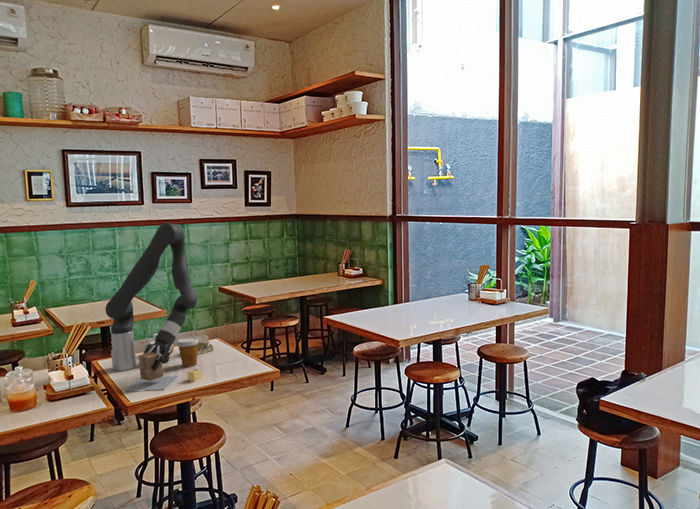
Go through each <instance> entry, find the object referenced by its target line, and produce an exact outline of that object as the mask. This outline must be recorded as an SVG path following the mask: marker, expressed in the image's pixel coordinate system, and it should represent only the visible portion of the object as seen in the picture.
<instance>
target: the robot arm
mask: <svg viewBox="0 0 700 509" xmlns="http://www.w3.org/2000/svg"><path fill="white" fill-rule="evenodd" d="M184 233H185V232H184V230H183V227H182V226H181V225H179V224H176V223H171V222H164V223H162V224H161V225H159V227H158V228H157V230H156V231H155V234H154V235H153V237H152V238H151V240H150V242H149V244H148V246H147V248H146V249H145V250H144V252H143V253H142V254H141V256H140V258H139V259H138V260H137V261H136V263H135V264H134V266H133V267H132V268H131V271H130V272H129V273H128V275H127V276H126V278H125V280H124V281H123V283H122V285H121V286H120V287H119V289H118V290H117V292H115V294H114V295H113V296H112V298H110V299H109V301H108V302H107V304H106V305H105V313H106V316H107V317H108V318H110V319H113V322H112V325H111V326H110V334H111V344H112V349H111V351H110V354H111V363H112V364H111V365H112V370H113V371H117V372H123V371H130V370H132V369H135V368H136V367H137V359H136V358H137V357H136V349H135V341H134V340H135V339H134V329H133V327H134V324H135V323H134V322H135V320H134V305H133V302H132V301H133V300H134V298H135V297H136V296H137V294H139V293H140V292H141V291H142V290H144V288H145V287H146V286H147V285H148V284H149V283H150V281H151V280H152V278H153V277H154V276H155V274H156V272H157V271H158V269H159V265H160V260H161V256H162V254H163V253H164V252H165V251H166V249H167V248H168V246H170V249H171V254H172V255H171V256H172V263H171V276H172V280H173V284H174V288H175V289H176V290H178V291H179V293H180V295H179V296H178V297H177V298H176V299H175V301H174V303H173V305H172V306H173V307H172V309H171V312H170V313H169V315H168V317H167V318H166V321H165V322H164V323H163V324H162V326H161V327H160V328H159V330H158V332H157V333H158V334H157V333H156V334H157V336H156V338H155V343H154V344H153V345H151V344H150V343H148V344H147V346H146V347H145V348H144V349H145V350H144V351H143V353H142V354H145V353H148V352H149V353H150V352H155V353H157V354H158V357H157V359H156V360H157V361H155V362H154V364H153V366H152V368H151V369H152V370H154V371H156V369H157V368H158V366H159V365H160V363H162V362H166V360H167V359H168V357H169V358H170V356H171V354H172V353H173V352H172V351H173V350H172V349H171V348H170V347H171V346H172V344H173V343H175V341H176V339H177V337H178V336H179V333H180V331H181V329H182V327H183V325H184V323H185V322H186V318H187V317H186V315H187V312H188V311H189V310H192V309H194V308H195V307H196V306H197V304H198V296H197V292H196V290H195V289H194V286H193V285H192V283H191V278H190V274H189V269H188V265H187V257H186V247H185V246H186V245H185V234H184ZM160 353H161V354H160ZM164 356H166V357H165V358H164ZM160 357H161V358H160Z"/></svg>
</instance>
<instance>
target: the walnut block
mask: <svg viewBox="0 0 700 509" xmlns="http://www.w3.org/2000/svg"><path fill="white" fill-rule="evenodd" d="M160 354H161V353H160ZM157 357H158V354H157V353H155V352H150V353H149V352H148V353H145V354H143V353H142V354H139V355H138V362H139V372H140V378H141V379H144V380H149V381H152V380H155V379H157V378H160V377H162V376H164V370H163V369H164V368H163V364H162V363H160V365H159V366H158V368H157V369H156V371H154V370H152V369H151V368H152V366H153V364H154V362H155V361H157V360H156V359H157ZM160 358H161V357H160Z"/></svg>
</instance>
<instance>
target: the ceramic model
mask: <svg viewBox="0 0 700 509" xmlns="http://www.w3.org/2000/svg"><path fill="white" fill-rule="evenodd" d="M189 337H195V338H197V339H198V341H199V342H198V350H197V356H200V355H199V354H201V355H204V353H205V354H208V352H209V353H212V352H214V351H213V350H215V347H214V345H213V344H211V343H210V340H209V337H208V335H206V334H205V333H199V332H195V334H193V335H190V336H189ZM211 351H212V352H211Z"/></svg>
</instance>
